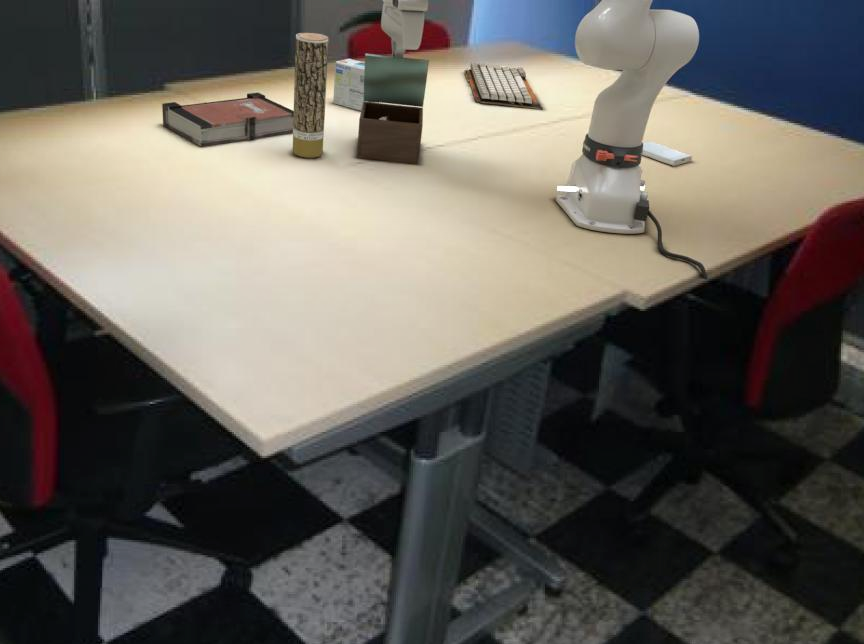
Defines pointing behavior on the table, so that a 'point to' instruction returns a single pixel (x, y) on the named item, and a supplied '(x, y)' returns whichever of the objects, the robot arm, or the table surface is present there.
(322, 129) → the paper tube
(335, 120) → the table surface
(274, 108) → the book
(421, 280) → the table surface
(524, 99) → the mechanical keyboard
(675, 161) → the hard drive
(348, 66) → the light bulb box
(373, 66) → the pale blue slab
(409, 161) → the case
